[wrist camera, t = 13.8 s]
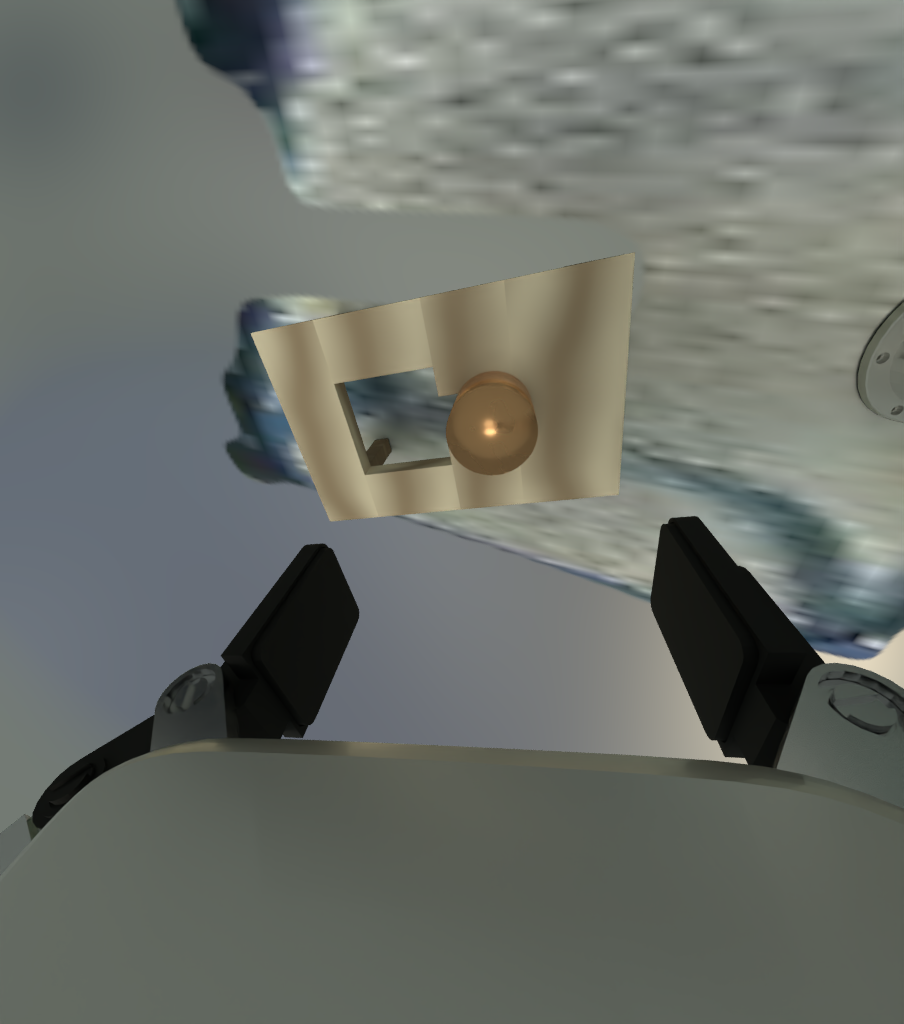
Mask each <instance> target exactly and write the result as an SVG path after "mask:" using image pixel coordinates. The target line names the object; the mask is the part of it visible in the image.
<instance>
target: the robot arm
mask: <svg viewBox="0 0 904 1024" xmlns="http://www.w3.org/2000/svg"><path fill="white" fill-rule="evenodd" d="M858 390H859V393H860V396H861V399H862V401H863V402H864V403H865V405H866V406H867V407H868V408H869V409H870V410H872V411H873V412H874V413H876V414H877V415H880V416H883V417H885V418H888V419H890V420H894V421H898V422H902V423H904V302H903V303H902V304H901V305H900V306H899V307H898V308H897V309H896V310H895V311H894V312H893V313H892V314H891V315H890V316H889V317H888V318H887V320H886V321H885V322H884V323H883V325H882V326H881V327H880V328H879V329H878V331H877V332H876V334H875V335H874V337H873V339H872V340H871V342H870V343H869V345H868V346H867V349H866V351H865V353H864V356H863V358H862V360H861V364H860V368H859V373H858ZM651 608H652V611H653V614H654V616H655V618H656V621H657V623H658V625H659V628H660V630H661V632H662V634H663V637H664V639H665V641H666V643H667V646H668V648H669V650H670V653H671V655H672V657H673V659H674V662H675V664H676V666H677V669H678V671H679V673H680V675H681V678H682V680H683V682H684V685H685V687H686V689H687V691H688V694H689V696H690V698H691V700H692V703H693V705H694V707H695V710H696V712H697V714H698V716H699V719H700V721H701V723H702V725H703V728H704V730H705V732H706V734H707V736H708V737H709V739H711V740H717V741H718V743H719V745H720V747H721V750H722V752H723V754H724V756H725V757H737V758H738V757H739V758H745V759H746V761H747V763H748V765H747V764H737V763H729V762H719V761H709V760H695V759H679V758H665V757H651V756H636V755H620V754H619V755H618V754H600V753H598V754H597V753H581V752H580V753H579V752H561V751H542V750H522V749H502V748H481V747H480V748H479V747H459V746H438V745H416V744H393V743H370V742H346V741H345V742H344V741H321V740H320V741H319V740H296V739H295V740H294V739H281V737H282V735H284V737H295V738H303V736H304V734H305V732H306V729H307V727H308V725H311V724H312V723H313V722H314V720H315V718H316V716H317V714H318V712H319V709H320V707H321V704H322V702H323V700H324V698H325V695H326V693H327V691H328V688H329V686H330V684H331V682H332V679H333V677H334V675H335V672H336V670H337V668H338V665H339V663H340V661H341V658H342V656H343V654H344V651H345V649H346V647H347V645H348V642H349V640H350V638H351V636H352V633H353V631H354V629H355V626H356V624H357V622H358V619H359V609H358V606H357V604H356V602H355V599H354V597H353V595H352V592H351V590H350V588H349V586H348V584H347V581H346V579H345V577H344V574H343V572H342V570H341V567H340V565H339V563H338V561H337V558H336V556H335V554H334V552H333V550H332V549H331V548H328V547H327V545H325V544H310V545H305V546H304V547H303V548H302V549H301V550H300V552H299V553H298V554H297V556H296V557H295V558H294V560H293V561H292V562H291V564H290V565H289V566H288V568H287V569H286V570H285V572H284V573H283V574H282V575H281V577H280V578H279V580H278V581H277V582H276V583H275V585H274V586H273V588H272V589H271V590H270V591H269V593H268V594H267V595H266V597H265V598H264V599H263V601H262V602H261V603H260V604H259V606H258V607H257V609H256V610H255V611H254V612H253V614H252V615H251V616H250V618H249V619H248V620H247V622H246V623H245V624H244V626H243V627H242V628H241V630H240V631H239V632H238V633H237V635H236V636H235V637H234V639H233V640H232V641H231V643H230V644H229V645H228V647H227V648H226V649H225V651H224V652H223V654H222V655H221V656H222V658H223V659H224V661H225V662H224V663H223V665H222V666H221V667H219V666H218V665H216V664H210V663H208V664H203V665H199V666H197V667H195V668H192V669H190V670H188V671H187V672H185V673H184V674H182V675H181V676H179V677H178V678H177V679H176V680H174V681H173V682H172V683H171V684H170V685H169V686H168V687H167V689H165V691H164V692H163V693H162V695H161V696H160V698H159V700H158V702H157V705H156V708H155V715H153V716H151V717H150V718H148V719H147V720H145V721H143V722H142V723H140V724H138V725H136V726H135V727H133V728H132V729H130V730H128V731H126V732H125V733H123V734H122V735H120V736H118V737H117V738H115V739H113V740H112V741H110V742H108V743H107V744H105V745H103V746H102V747H100V748H98V749H97V750H95V751H93V752H92V753H90V754H88V755H87V756H85V757H83V758H82V759H80V760H79V761H77V762H76V763H74V764H73V765H71V766H70V767H69V768H67V769H66V770H65V771H64V772H63V773H61V774H60V775H59V776H58V777H57V778H56V779H55V780H54V781H53V783H52V784H51V785H50V786H49V787H48V788H47V789H46V790H45V792H44V793H43V795H42V796H41V798H40V799H39V801H38V802H37V805H36V807H35V809H34V811H33V816H32V817H30V816H28V815H26V814H24V815H23V816H21V817H20V818H19V819H18V820H16V821H15V822H14V823H13V824H11V825H10V826H9V827H8V828H6V829H5V830H4V831H3V832H1V833H0V1024H904V689H903V688H901V687H900V686H898V685H897V684H895V683H894V682H892V681H891V680H889V679H886V678H885V677H882V676H880V675H878V674H876V673H874V672H872V671H869V670H866V669H863V668H859V667H856V666H853V665H847V664H839V663H829V664H825V663H824V661H823V660H822V659H821V658H820V657H819V655H818V654H817V653H816V652H815V650H814V649H813V648H812V647H811V646H810V644H809V643H808V642H807V641H806V640H805V638H804V637H803V636H802V635H801V634H800V632H799V631H798V630H797V629H796V628H795V626H794V625H793V624H792V623H791V621H790V620H789V619H788V618H787V617H786V615H785V614H784V613H783V612H782V611H781V609H780V608H779V607H778V606H777V605H776V603H775V602H774V601H773V600H772V599H771V597H770V596H769V595H768V594H767V593H766V591H765V590H764V589H763V588H762V586H761V585H760V584H759V583H758V582H757V580H756V579H755V578H754V577H753V576H752V574H751V573H750V572H749V571H748V570H747V569H746V568H744V567H741V566H737V565H736V563H735V562H734V561H733V560H732V558H731V557H730V556H729V555H728V553H727V552H726V551H725V550H724V548H723V547H722V546H721V545H720V543H719V542H718V541H717V540H716V538H715V537H714V536H713V535H712V533H711V532H710V531H709V530H708V529H707V527H706V526H705V525H704V524H703V522H702V521H701V520H700V519H699V518H698V517H696V516H691V517H678V518H671V519H670V520H669V522H668V524H663V525H662V526H661V530H660V537H659V544H658V551H657V558H656V565H655V572H654V579H653V586H652V593H651Z"/></svg>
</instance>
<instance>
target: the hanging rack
mask: <svg viewBox="0 0 904 1024" xmlns="http://www.w3.org/2000/svg"><path fill="white" fill-rule="evenodd" d="M634 259H635V252H634V253H629V254H625V255H619V256H614V257H610V258H604V259H599V260H594V261H590V262H585V263H580V264H575V265H570V266H565V267H563V268H558V269H553V270H548V271H544V272H539V273H534V274H529V275H525V276H520V277H515V278H510V279H506V280H501V281H496V282H492V283H487V284H482V285H477V286H473V287H468V288H463V289H458V290H453V291H449V292H444V293H439V294H434V295H430V296H425V297H420V298H416V299H411V300H406V301H401V302H396V303H392V304H387V305H382V306H377V307H373V308H368V309H363V310H358V311H354V312H347V313H343V314H338V315H333V316H329V317H324V318H319V319H315V320H310V321H305V322H301V323H296V324H291V325H287V326H282V327H277V328H273V329H268V330H263V331H259V332H254V333H251V335H252V337H253V340H254V342H255V345H256V347H257V349H258V352H259V354H260V356H261V359H262V361H263V363H264V366H265V368H266V371H267V373H268V375H269V378H270V380H271V382H272V385H273V387H274V390H275V392H276V394H277V397H278V399H279V401H280V404H281V406H282V408H283V411H284V413H285V416H286V418H287V420H288V423H289V425H290V427H291V430H292V432H293V434H294V437H295V439H296V442H297V444H298V446H299V449H300V451H301V453H302V456H303V458H304V460H305V463H306V465H307V468H308V470H309V472H310V475H311V477H312V479H313V482H314V484H315V487H316V489H317V491H318V494H319V496H320V498H321V501H322V503H323V505H324V508H325V510H326V513H327V515H328V517H329V520H330V521H340V520H351V519H361V518H372V517H383V516H394V515H405V514H416V513H427V512H438V511H449V510H459V509H470V508H481V507H492V506H503V505H514V504H525V503H535V502H546V501H557V500H568V499H579V498H590V497H601V496H611V495H619V483H620V468H621V453H622V438H623V423H624V409H625V394H626V379H627V364H628V349H629V334H630V319H631V304H632V290H633V274H634ZM430 367H433V370H434V375H435V380H436V385H437V390H438V396H446V395H452V394H458V393H459V391H460V389H461V388H462V387H463V385H464V384H465V383H466V382H467V381H468V380H470V379H471V378H472V377H474V376H476V375H478V374H480V373H483V372H488V371H501V372H505V373H508V374H511V375H513V376H515V377H516V378H518V379H519V380H520V381H521V382H522V383H523V384H524V385H525V386H526V388H527V390H528V391H529V393H530V396H531V399H532V403H533V407H534V411H535V415H536V419H537V424H538V437H537V442H536V445H535V448H534V450H533V452H532V453H531V455H530V456H529V458H528V459H527V460H526V461H525V462H524V463H523V464H522V465H520V466H519V467H518V468H516V469H514V470H513V471H510V472H508V473H505V474H500V475H482V474H478V473H475V472H473V471H470V470H468V469H467V468H465V467H464V466H462V465H461V464H460V463H459V462H458V461H457V460H456V459H455V457H454V456H453V454H452V453H451V451H450V449H449V452H450V457H445V458H436V459H428V460H420V461H412V462H403V463H395V464H387V465H383V464H384V462H385V460H386V459H387V457H388V456H389V454H390V453H391V447H390V444H389V440H388V439H380V440H375V441H374V442H373V444H372V445H371V446H370V448H369V449H368V450H367V451H366V450H365V447H364V444H363V441H362V438H361V434H360V431H359V428H358V425H357V422H356V419H355V416H354V413H353V410H352V407H351V403H350V400H349V397H348V394H347V391H346V388H345V385H344V382H348V381H354V380H360V379H366V378H372V377H377V376H383V375H389V374H395V373H401V372H407V371H412V370H418V369H424V368H430ZM448 447H449V446H448Z"/></svg>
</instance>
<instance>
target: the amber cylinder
mask: <svg viewBox="0 0 904 1024" xmlns="http://www.w3.org/2000/svg"><path fill="white" fill-rule="evenodd" d="M537 437H538V424H537V419H536V415H535V411H534V407H533V403H532V399H531V396H530V393H529V391H528V390H527V388H526V386H525V385H524V384H523V383H522V382H521V381H520V380H519V379H518V378H516V377H515V376H513V375H511V374H508V373H505V372H501V371H488V372H483V373H480V374H478V375H476V376H474V377H472V378H471V379H470V380H468V381H467V382H466V383H465V384H464V385H463V387H462V388H461V389H460V391H459V393H458V395H457V397H456V400H455V402H454V405H453V407H452V410H451V413H450V415H449V418H448V421H447V426H446V438H447V443H448V446H449V449H450V451H451V453H452V454H453V456H454V457H455V459H456V460H457V461H458V462H459V463H460V464H461V465H462V466H464V467H465V468H467V469H468V470H470V471H473V472H475V473H478V474H482V475H500V474H505V473H508V472H510V471H513V470H514V469H516V468H518V467H519V466H520V465H522V464H523V463H524V462H525V461H526V460H527V459H528V458H529V456H530V455H531V453H532V452H533V450H534V448H535V445H536V442H537Z"/></svg>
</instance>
